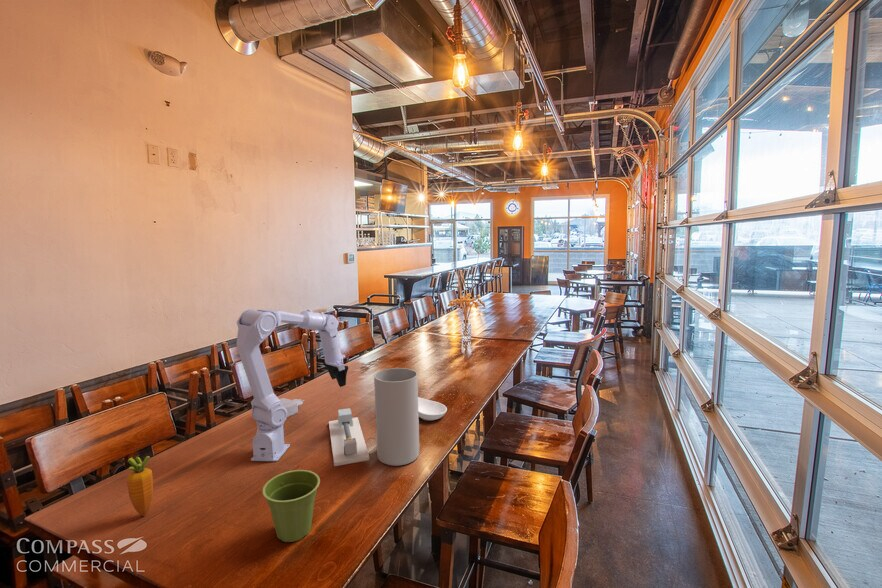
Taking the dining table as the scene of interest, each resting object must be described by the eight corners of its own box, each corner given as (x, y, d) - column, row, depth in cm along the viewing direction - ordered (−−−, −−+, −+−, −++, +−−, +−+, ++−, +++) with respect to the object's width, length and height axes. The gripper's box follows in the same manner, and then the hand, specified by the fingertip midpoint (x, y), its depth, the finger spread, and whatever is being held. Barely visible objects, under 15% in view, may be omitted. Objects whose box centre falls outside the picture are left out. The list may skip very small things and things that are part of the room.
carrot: (161, 508, 101) (155, 450, 99) (148, 522, 96) (140, 461, 94) (140, 509, 101) (133, 451, 99) (126, 523, 96) (118, 462, 94)
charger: (311, 408, 161) (277, 422, 148) (295, 403, 166) (261, 417, 153) (310, 396, 160) (276, 410, 147) (294, 392, 165) (260, 405, 152)
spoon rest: (451, 413, 154) (451, 394, 153) (440, 426, 143) (439, 407, 142) (394, 405, 162) (393, 387, 161) (379, 417, 151) (378, 398, 150)
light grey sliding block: (352, 426, 136) (352, 413, 136) (339, 428, 135) (338, 415, 135) (351, 419, 141) (350, 408, 141) (338, 421, 140) (337, 409, 139)
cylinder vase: (373, 449, 128) (370, 371, 124) (412, 442, 132) (410, 366, 129) (382, 470, 116) (379, 384, 113) (425, 461, 120) (423, 378, 117)
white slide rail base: (369, 460, 122) (368, 442, 121) (334, 466, 119) (333, 447, 118) (357, 419, 149) (357, 404, 148) (328, 424, 146) (328, 408, 145)
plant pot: (274, 560, 84) (270, 508, 83) (260, 528, 94) (256, 481, 92) (330, 535, 91) (327, 487, 90) (312, 507, 101) (309, 463, 99)
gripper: (349, 349, 140) (357, 384, 144) (334, 338, 152) (342, 371, 156) (329, 356, 137) (337, 392, 141) (316, 344, 148) (323, 378, 152)
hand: (338, 382), depth 148 cm, fingers open, 7 cm apart
